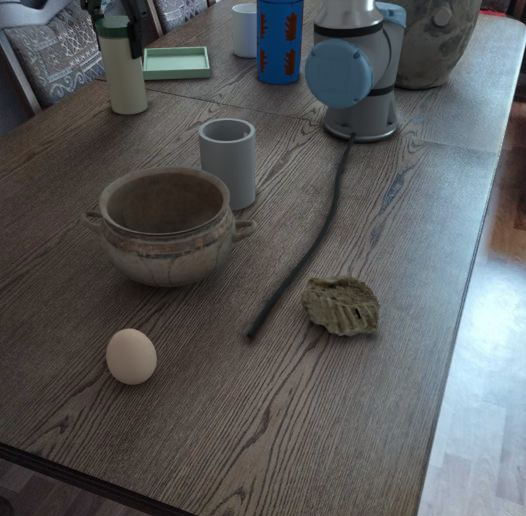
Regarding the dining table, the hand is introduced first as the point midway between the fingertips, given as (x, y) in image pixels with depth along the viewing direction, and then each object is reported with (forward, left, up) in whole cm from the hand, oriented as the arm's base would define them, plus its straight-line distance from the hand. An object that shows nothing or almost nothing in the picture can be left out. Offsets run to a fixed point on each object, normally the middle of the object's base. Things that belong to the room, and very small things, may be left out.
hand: (120, 53), depth 116 cm
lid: (0, 0, +6) cm, 6 cm away
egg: (-82, -4, -11) cm, 83 cm away
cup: (-41, -19, -11) cm, 47 cm away
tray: (+24, -11, -11) cm, 29 cm away
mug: (+34, -31, -11) cm, 47 cm away
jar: (0, 0, -11) cm, 11 cm away
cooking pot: (-61, -9, -11) cm, 63 cm away
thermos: (+15, -36, -11) cm, 41 cm away
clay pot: (+9, -69, -11) cm, 71 cm away
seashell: (-75, -31, -11) cm, 82 cm away
